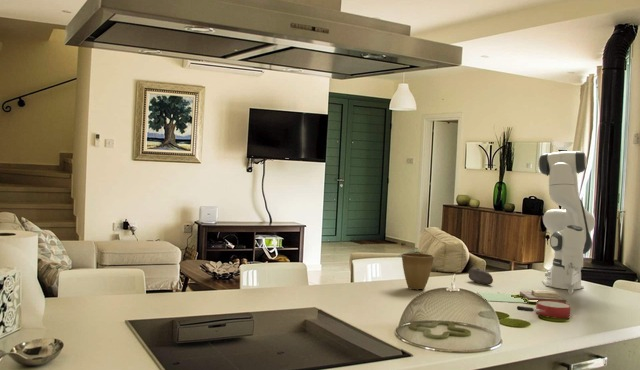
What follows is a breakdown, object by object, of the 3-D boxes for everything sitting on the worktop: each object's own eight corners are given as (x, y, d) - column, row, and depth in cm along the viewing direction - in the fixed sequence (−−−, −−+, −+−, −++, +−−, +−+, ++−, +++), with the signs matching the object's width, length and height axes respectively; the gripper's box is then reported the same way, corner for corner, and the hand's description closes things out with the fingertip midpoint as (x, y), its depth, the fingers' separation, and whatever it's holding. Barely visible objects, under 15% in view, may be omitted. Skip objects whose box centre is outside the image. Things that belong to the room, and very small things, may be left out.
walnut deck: (519, 295, 285) (519, 291, 285) (554, 297, 285) (555, 293, 285) (529, 302, 271) (529, 297, 271) (566, 304, 271) (566, 299, 271)
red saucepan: (540, 328, 227) (541, 310, 226) (507, 320, 236) (508, 304, 235) (575, 315, 250) (576, 299, 250) (544, 309, 259) (544, 294, 259)
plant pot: (438, 289, 291) (439, 255, 290) (421, 293, 280) (422, 258, 279) (411, 284, 301) (413, 251, 300) (393, 288, 290) (395, 253, 289)
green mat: (477, 292, 288) (477, 292, 288) (517, 294, 287) (517, 294, 287) (486, 301, 270) (486, 300, 270) (529, 303, 269) (529, 302, 269)
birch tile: (531, 293, 281) (531, 289, 281) (553, 294, 281) (553, 290, 281) (535, 296, 275) (535, 292, 275) (558, 297, 275) (558, 293, 275)
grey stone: (495, 286, 308) (496, 272, 308) (487, 286, 306) (488, 272, 305) (475, 280, 321) (475, 267, 321) (467, 280, 319) (468, 267, 319)
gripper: (576, 265, 267) (573, 297, 267) (583, 260, 284) (581, 290, 284) (560, 263, 270) (558, 295, 270) (569, 259, 287) (567, 288, 288)
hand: (570, 292), depth 277 cm, fingers closed
